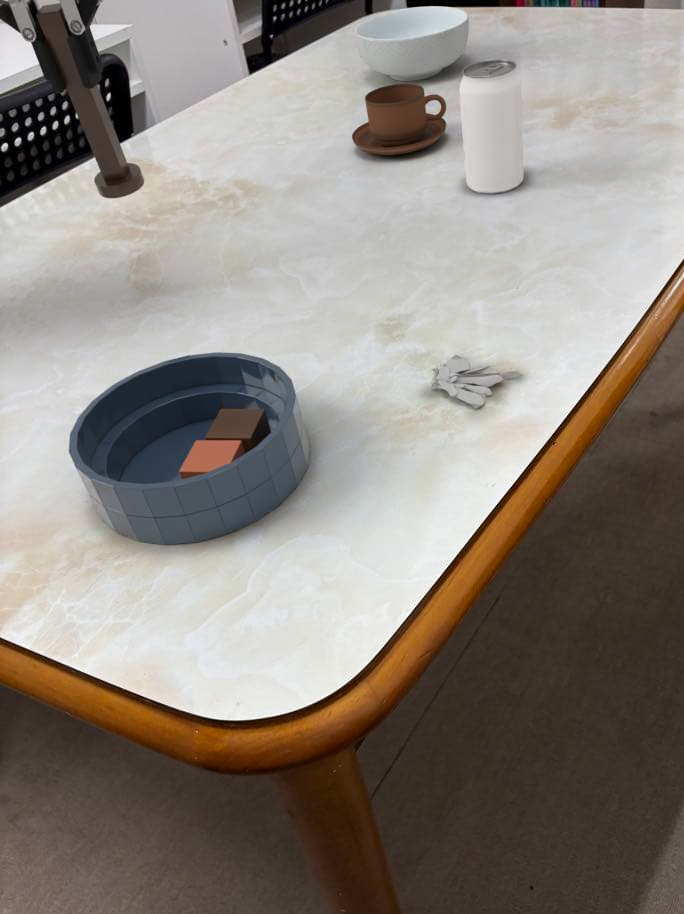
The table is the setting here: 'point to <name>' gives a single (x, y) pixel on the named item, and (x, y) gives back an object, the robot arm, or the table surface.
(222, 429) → the block walnut
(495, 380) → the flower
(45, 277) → the table surface
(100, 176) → the stirrer
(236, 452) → the block terracotta
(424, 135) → the cup and saucer
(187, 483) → the bowl
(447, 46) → the cereal bowl
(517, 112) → the can
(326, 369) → the table surface
